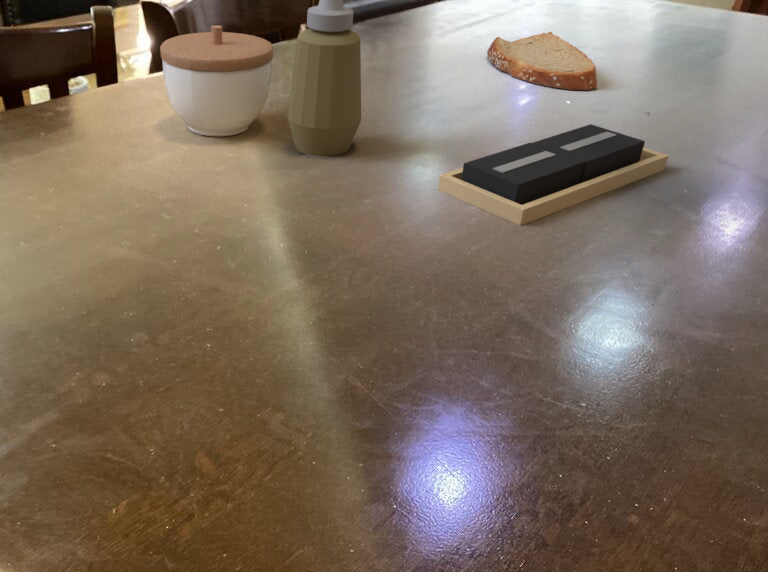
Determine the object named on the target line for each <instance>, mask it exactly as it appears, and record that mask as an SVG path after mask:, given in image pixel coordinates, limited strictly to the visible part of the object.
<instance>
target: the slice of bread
mask: <svg viewBox="0 0 768 572" xmlns="http://www.w3.org/2000/svg"><path fill="white" fill-rule="evenodd" d="M486 54H487V58H488V61H489V62H490V63H491V65H492V66H494V67H495V68H496V69H497V70H498V71H501V72H503V73H507V74H508V75H510V76H511V77H513V78H516V79H518V80H521V81H524V82H529V83H532V84H535V85H537V86H538V85H540V86H544V87H549V88H555V89H560V90H561V89H562V90H563V89H564V90H572V91H589V90H595V89H597V88H598V74H597V68H596V65H595V64H594V62H593V60H592V59H591V58H590V57H588V55H587V54H586V53H584V52H583V51H582V50H580V49H579V48H578V47H576V46H573V44H571V43H569V42H568V41H566V40H564V39H562V38H561V37H560V36H559V35H556V34H553V32H552V31H548V32H547V33H546V32H542V33H539V34H533V35H530V36H528V37H521V38H520V39H517V40H516V39H515V40H513V41H510V40H506V39H504V38H502V37H500V36H496V38H494V40H493V41H492V42H491V43H490V45H489V47H488V49H487V52H486Z"/></svg>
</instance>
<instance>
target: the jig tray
mask: <svg viewBox="0 0 768 572" xmlns="http://www.w3.org/2000/svg"><path fill="white" fill-rule="evenodd" d="M669 156H670V155H669V154H665V153H662V152H659V151H656V150H653V149H649V148H647V147H643V150H642V153H641V157H640V160H639V162H637V163H635V164H632V165H629V166H626V167H624V168H621V169H618V170H616V171H613V172H610V173H607V174H605V175H602V176H599V177H597V178H594V179H591V180H588V181H586V182H583V183H580V184H578V185H575V186H572V187H569V188H567V189H564V190H561V191H559V192H556V193H553V194H551V195H548V196H545V197H542V198H540V199H537V200H534V201H532V202H529V203H526V204H523V205H521V204H518V203H516V202H513V201H511V200H509V199H506V198H504V197H501V196H499V195H496V194H494V193H492V192H489V191H487V190H484V189H482V188H479V187H477V186H475V185H472V184H470V183H467V182H465V181H462V180H461V178H462V172H463V167H460V168H457V169H454V170H451V171H448V172H445V173H442V174H439V179H438V185H437V191H438V192H441V193H444V194H446V195H448V196H451V197H452V198H455V199H457V200H460V201H462V202H465V204H466V203H467V204H469V205H470V206H471V205H472V206H473V207H476V208H477V209H481V210H483V211H485V212H488V213H489V214H491V215H494V216H497V217H499V218H501V219H503V220H506V221H508V222H511V223H512V224H515V225H517V226H523V225H526V224H529V223H532V222H534V221H536V220H539V219H541V218H544V217H546V216H549V215H552V214H554V213H557V212H560V211H562V210H564V209H567V208H570V207H573V206H575V205H578V204H581V203H583V202H586V201H588V200H590V199H593V198H596V197H598V196H601V195H603V194H606V193H608V192H611V191H614V190H616V189H619V188H621V187H624V186H626V185H630V184H631V183H632V184H633V183H634V182H637V181H640V180H642V179H645V178H647V177H651V176H653V175H654V174H658V173H660V172H662V171H664V170H665V169H666V166H667V162H668V159H669Z"/></svg>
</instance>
